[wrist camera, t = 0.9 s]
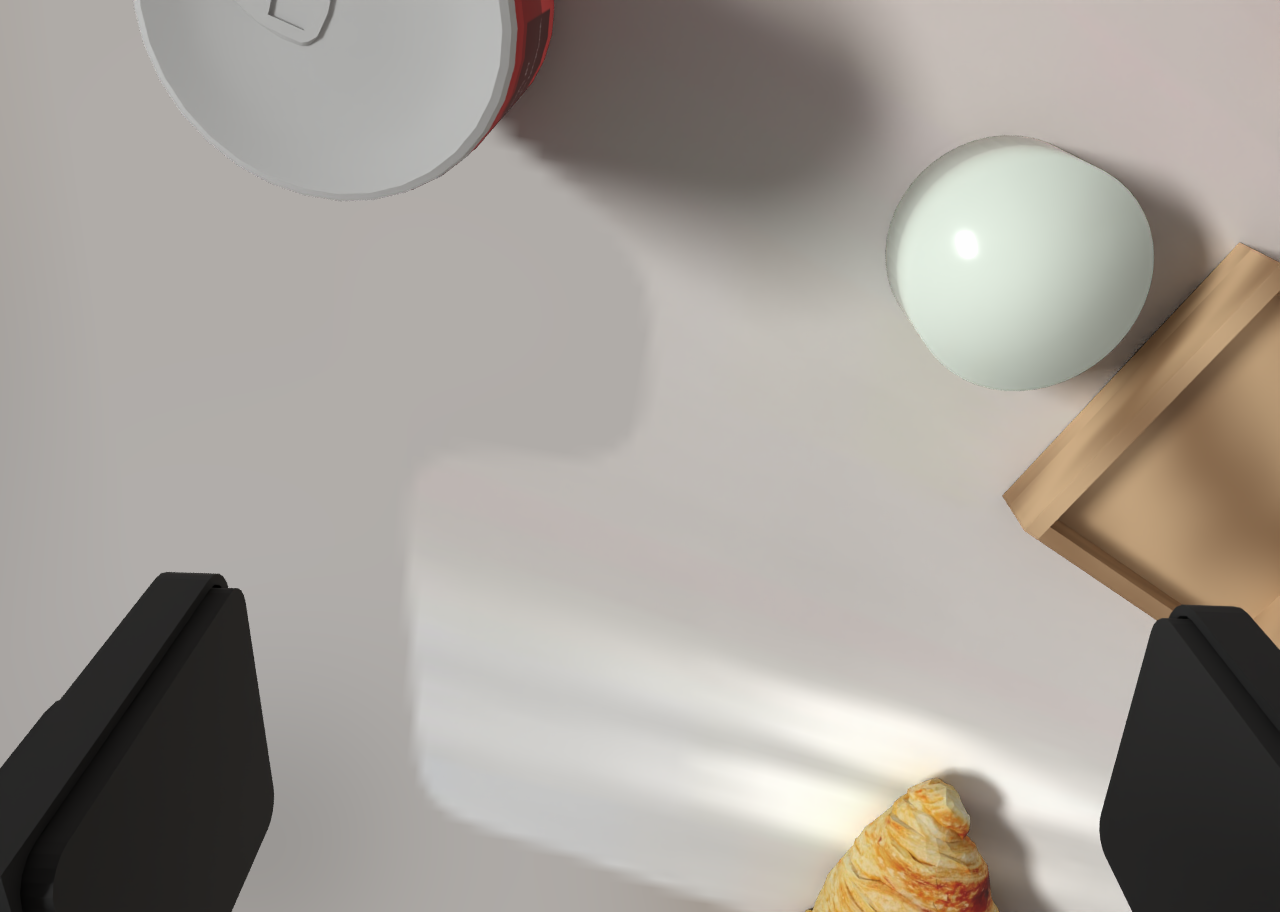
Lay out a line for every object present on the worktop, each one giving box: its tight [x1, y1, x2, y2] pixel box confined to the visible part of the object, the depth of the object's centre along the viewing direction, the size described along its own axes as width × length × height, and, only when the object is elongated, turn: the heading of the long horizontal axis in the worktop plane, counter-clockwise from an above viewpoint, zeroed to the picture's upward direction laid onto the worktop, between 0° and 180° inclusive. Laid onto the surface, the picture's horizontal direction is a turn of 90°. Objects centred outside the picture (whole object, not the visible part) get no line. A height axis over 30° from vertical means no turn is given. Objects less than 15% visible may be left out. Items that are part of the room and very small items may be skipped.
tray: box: [1003, 243, 1280, 650], centre depth 37 cm, size 11×11×3 cm
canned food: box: [133, 0, 554, 201], centre depth 27 cm, size 8×8×11 cm
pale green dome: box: [885, 135, 1154, 391], centre depth 34 cm, size 7×7×4 cm
